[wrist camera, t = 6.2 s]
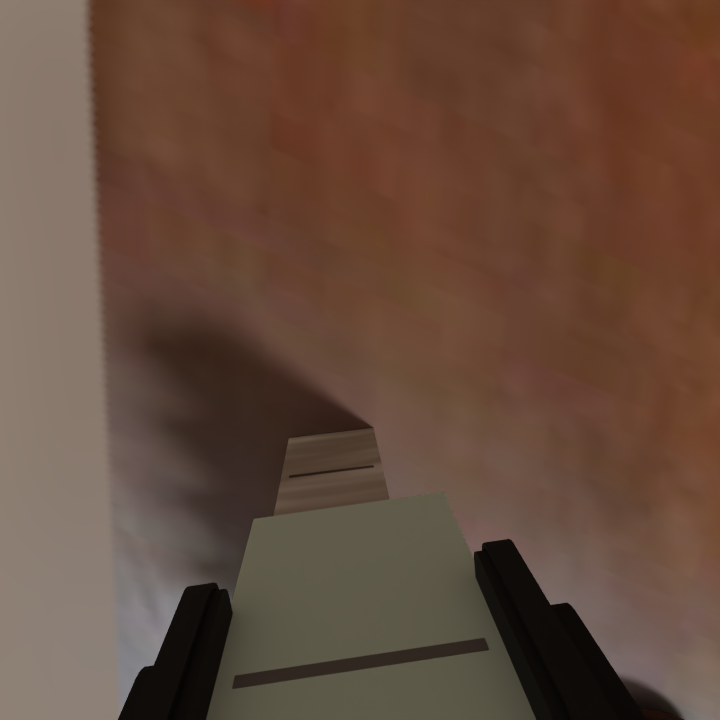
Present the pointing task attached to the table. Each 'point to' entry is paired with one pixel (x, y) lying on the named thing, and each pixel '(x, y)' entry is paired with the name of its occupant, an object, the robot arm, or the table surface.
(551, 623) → the robot arm
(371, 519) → the domino
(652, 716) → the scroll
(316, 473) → the domino
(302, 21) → the table surface
